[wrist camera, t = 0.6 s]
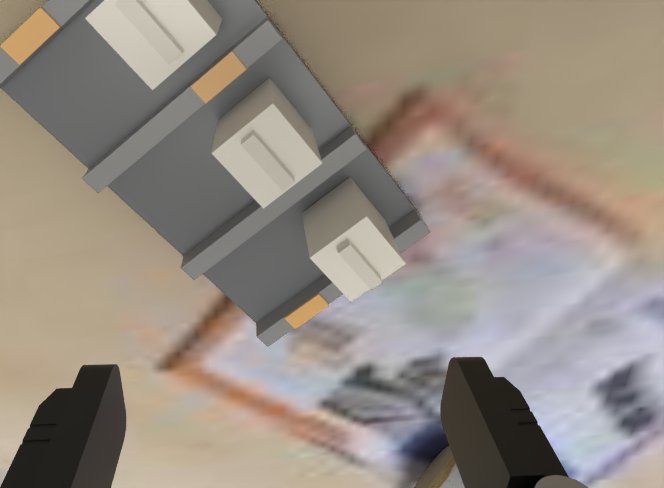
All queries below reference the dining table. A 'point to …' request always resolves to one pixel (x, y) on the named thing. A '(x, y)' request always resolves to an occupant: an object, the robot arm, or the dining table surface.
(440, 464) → the ceramic mug
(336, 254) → the white rectangular block
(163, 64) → the cream upright block
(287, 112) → the off-white rectangular block
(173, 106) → the switch bank
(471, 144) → the dining table surface
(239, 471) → the dining table surface
